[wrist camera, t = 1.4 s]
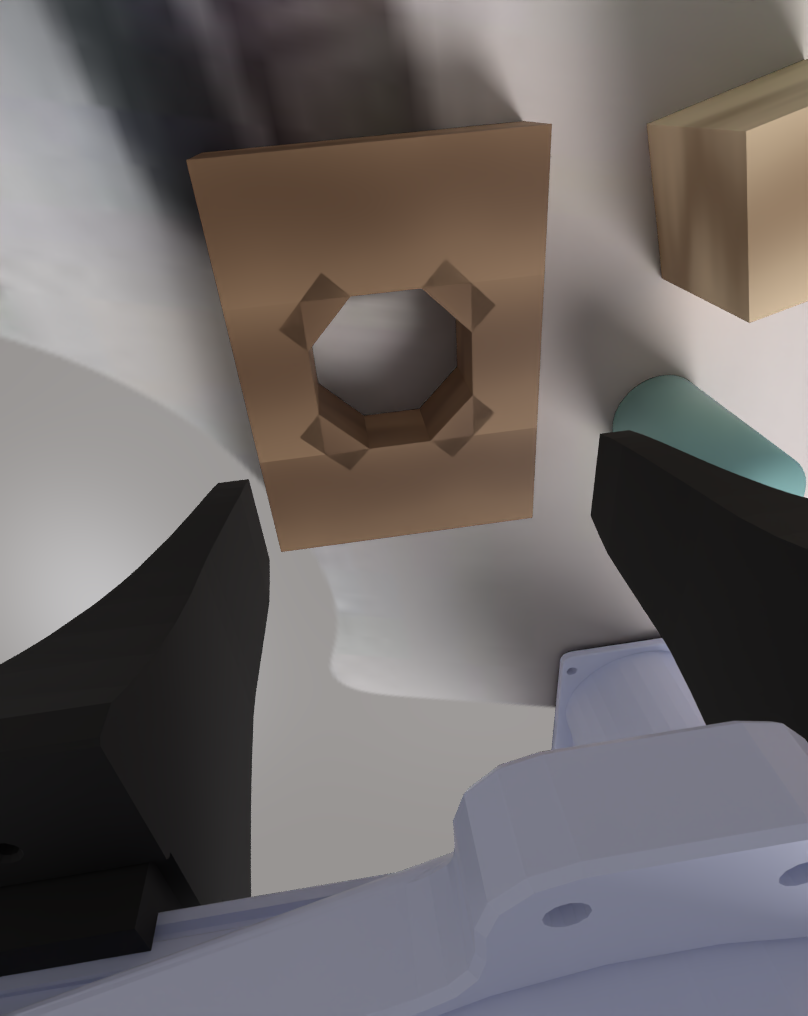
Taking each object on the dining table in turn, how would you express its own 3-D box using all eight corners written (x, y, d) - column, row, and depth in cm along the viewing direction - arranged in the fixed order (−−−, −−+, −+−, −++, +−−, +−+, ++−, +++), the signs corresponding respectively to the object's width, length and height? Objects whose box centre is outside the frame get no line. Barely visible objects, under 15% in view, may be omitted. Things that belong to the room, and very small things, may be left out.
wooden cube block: (798, 224, 20) (924, 257, 16) (660, 277, 20) (749, 322, 16) (803, 59, 17) (955, 47, 13) (645, 124, 18) (746, 131, 14)
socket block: (513, 481, 24) (532, 517, 22) (283, 512, 23) (281, 551, 21) (523, 121, 17) (551, 124, 15) (201, 152, 17) (186, 159, 15)
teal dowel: (691, 451, 24) (787, 541, 19) (607, 462, 24) (684, 555, 19) (708, 369, 22) (820, 446, 17) (618, 381, 22) (706, 461, 17)
